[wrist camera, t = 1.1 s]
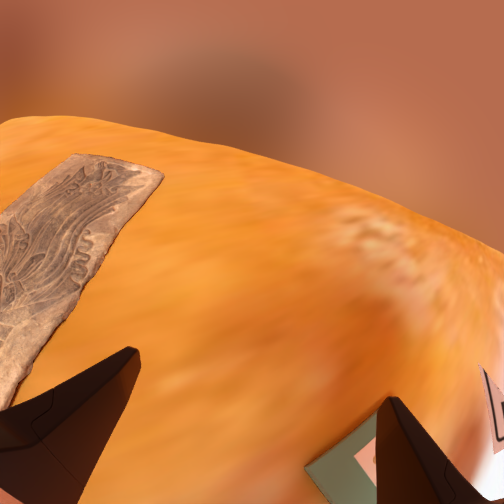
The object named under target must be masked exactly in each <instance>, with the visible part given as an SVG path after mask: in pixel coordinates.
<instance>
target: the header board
mask: <svg viewBox="0 0 504 504" xmlns="http://www.w3.org/2000/svg"><path fill="white" fill-rule="evenodd" d="M378 409H379V408H378ZM378 409H377V410H376V411H375V412H374V413H373V414H372V415H371V416H370V417H368V418H367V419H366V420H365V421H364V422H363V423H362V424H360V425H359V426H358V427H357V428H356V429H354V430H353V431H352V432H351V433H350V434H348V435H347V436H346V437H345V438H343V439H342V440H341V441H340V442H338V443H337V444H336V445H334V446H333V447H332V448H330V449H329V450H328V451H326V452H325V453H324V454H322V455H321V456H320V457H318V458H317V459H315V460H314V461H312V462H311V463H310V464H308V465H307V466H305V467H304V469H305V470H306V472H307V473H308V474H309V476H310V477H311V478H312V480H313V481H314V483H315V484H316V485H317V487H318V488H319V489H320V491H321V492H322V493H323V495H324V496H325V497H326V498H327V500H328V501H329V502H330V504H377V489H376V457H375V441H376V418H377V411H378Z"/></svg>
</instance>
